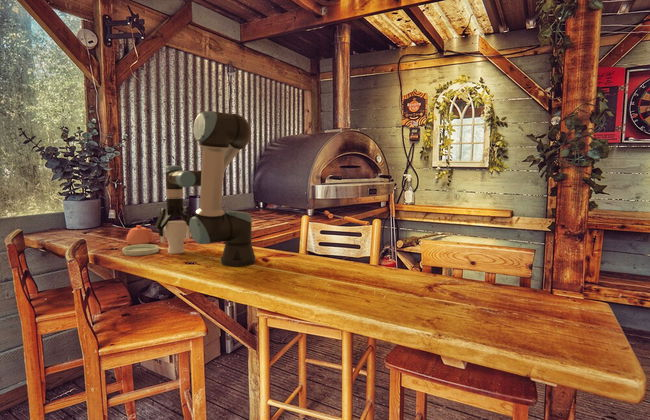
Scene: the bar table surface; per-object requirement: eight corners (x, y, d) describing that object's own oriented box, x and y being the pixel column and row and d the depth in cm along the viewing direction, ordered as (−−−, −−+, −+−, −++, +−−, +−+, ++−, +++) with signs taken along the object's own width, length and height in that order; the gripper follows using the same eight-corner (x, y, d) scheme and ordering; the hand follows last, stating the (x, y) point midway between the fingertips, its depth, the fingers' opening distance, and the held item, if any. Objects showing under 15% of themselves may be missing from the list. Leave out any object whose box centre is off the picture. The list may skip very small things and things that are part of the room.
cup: (191, 250, 198) (190, 220, 196) (181, 255, 187) (180, 224, 185) (171, 249, 199) (170, 220, 197) (160, 254, 188) (159, 223, 187)
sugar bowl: (134, 241, 216) (133, 223, 215) (159, 242, 215) (158, 224, 214) (121, 246, 204) (120, 227, 202) (148, 247, 203) (147, 227, 202)
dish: (165, 251, 194) (164, 247, 193) (132, 257, 181) (132, 252, 181) (148, 246, 203) (147, 242, 203) (116, 252, 191) (116, 247, 190)
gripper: (192, 195, 202) (193, 236, 205) (145, 198, 182) (147, 243, 185) (201, 196, 197) (202, 238, 200) (154, 200, 178) (155, 245, 180)
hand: (175, 240), depth 193 cm, fingers open, 13 cm apart
